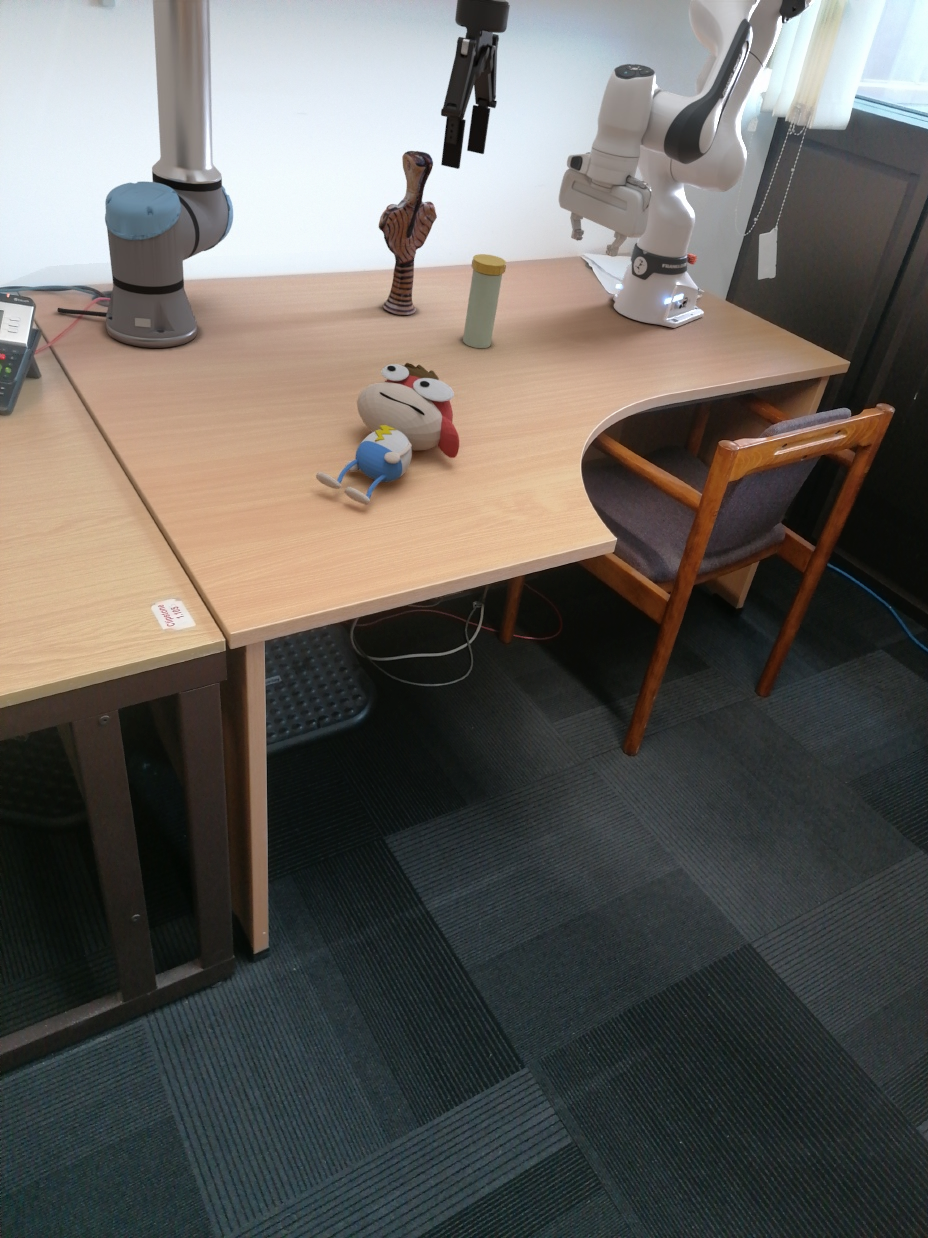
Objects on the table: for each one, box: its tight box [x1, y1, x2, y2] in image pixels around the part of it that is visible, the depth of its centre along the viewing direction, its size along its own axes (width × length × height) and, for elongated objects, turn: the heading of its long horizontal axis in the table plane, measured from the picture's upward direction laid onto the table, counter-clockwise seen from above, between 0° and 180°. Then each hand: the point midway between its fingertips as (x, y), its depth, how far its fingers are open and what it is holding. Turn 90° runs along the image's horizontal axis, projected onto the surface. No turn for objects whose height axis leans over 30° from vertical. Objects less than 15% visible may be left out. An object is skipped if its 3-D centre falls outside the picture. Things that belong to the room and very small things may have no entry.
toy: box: [315, 362, 460, 505], centre depth 132 cm, size 18×10×30 cm
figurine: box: [378, 150, 438, 316], centre depth 174 cm, size 15×8×30 cm, turn 144°
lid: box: [470, 253, 507, 275], centre depth 166 cm, size 6×6×2 cm
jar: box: [462, 268, 503, 349], centre depth 171 cm, size 6×6×16 cm
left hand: (463, 159), depth 139 cm, fingers open, 13 cm apart
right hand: (593, 247), depth 170 cm, fingers open, 8 cm apart
